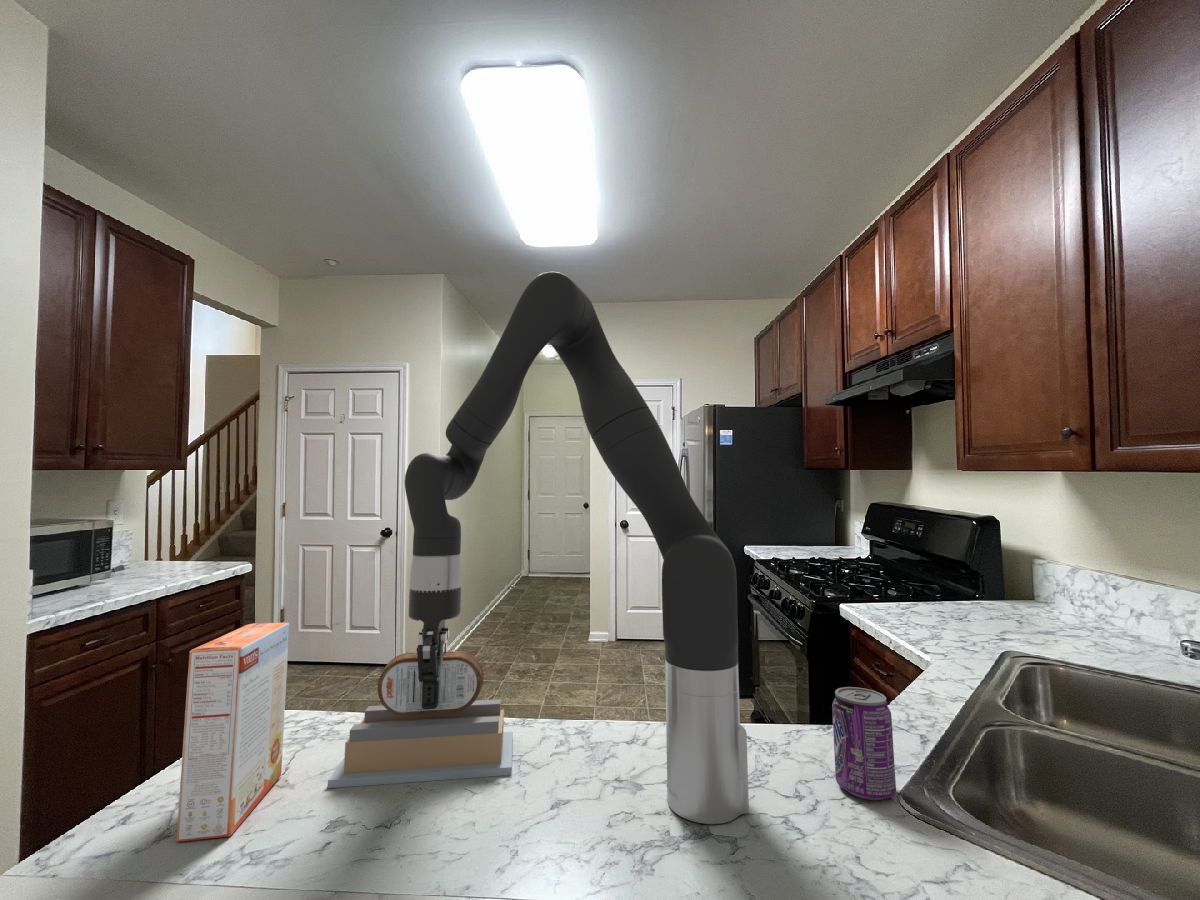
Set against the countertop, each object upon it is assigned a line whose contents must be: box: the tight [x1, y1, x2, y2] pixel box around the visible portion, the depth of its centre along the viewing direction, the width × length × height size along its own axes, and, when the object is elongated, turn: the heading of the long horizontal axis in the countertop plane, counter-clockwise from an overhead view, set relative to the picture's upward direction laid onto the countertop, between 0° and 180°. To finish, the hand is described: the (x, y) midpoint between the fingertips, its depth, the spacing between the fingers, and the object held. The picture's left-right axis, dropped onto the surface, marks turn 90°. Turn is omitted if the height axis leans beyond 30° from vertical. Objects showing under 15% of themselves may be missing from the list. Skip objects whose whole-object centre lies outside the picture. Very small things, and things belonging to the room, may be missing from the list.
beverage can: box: [831, 686, 897, 801], centre depth 69 cm, size 7×7×12 cm
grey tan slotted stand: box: [327, 699, 514, 789], centre depth 77 cm, size 24×12×7 cm, turn 98°
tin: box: [377, 650, 484, 715], centre depth 78 cm, size 15×3×8 cm, turn 99°
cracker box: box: [176, 622, 290, 843], centre depth 66 cm, size 14×6×21 cm, turn 10°
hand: (431, 703), depth 78 cm, fingers closed on tin, 2 cm apart
